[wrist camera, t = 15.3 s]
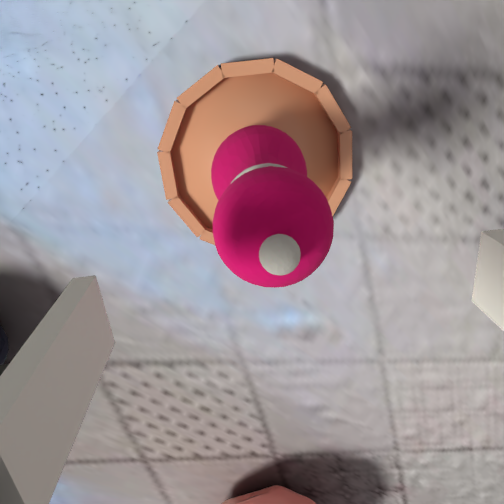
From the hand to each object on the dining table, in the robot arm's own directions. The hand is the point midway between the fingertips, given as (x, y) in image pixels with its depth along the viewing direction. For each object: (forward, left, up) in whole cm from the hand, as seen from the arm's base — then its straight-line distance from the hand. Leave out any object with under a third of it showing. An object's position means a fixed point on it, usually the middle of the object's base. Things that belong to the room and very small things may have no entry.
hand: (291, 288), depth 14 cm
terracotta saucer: (0, 0, -23) cm, 23 cm away
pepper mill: (0, 0, -23) cm, 23 cm away
